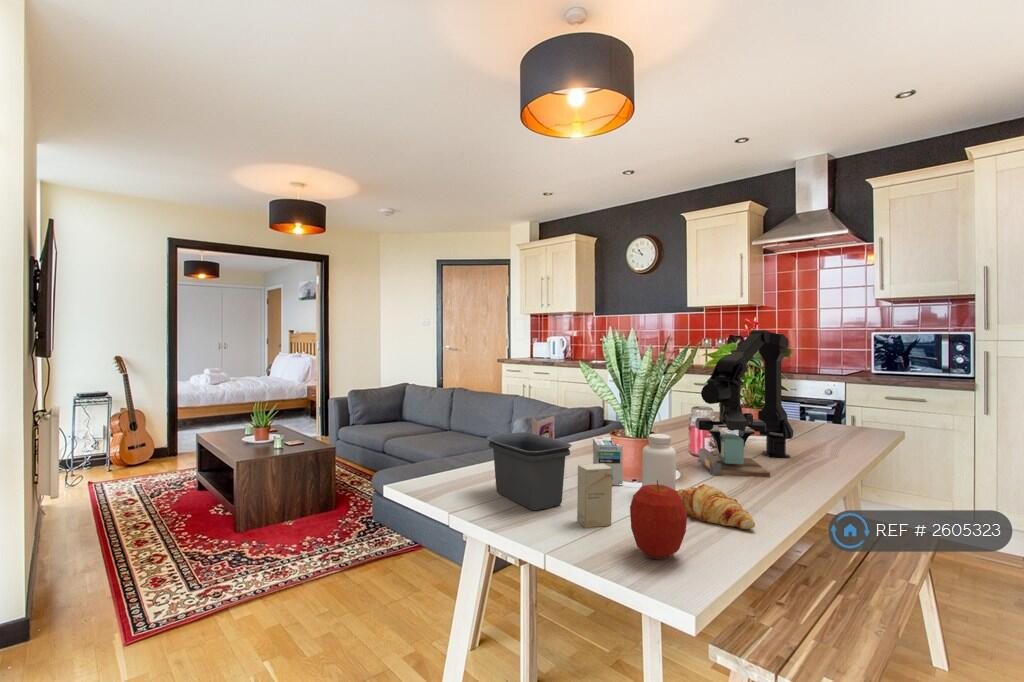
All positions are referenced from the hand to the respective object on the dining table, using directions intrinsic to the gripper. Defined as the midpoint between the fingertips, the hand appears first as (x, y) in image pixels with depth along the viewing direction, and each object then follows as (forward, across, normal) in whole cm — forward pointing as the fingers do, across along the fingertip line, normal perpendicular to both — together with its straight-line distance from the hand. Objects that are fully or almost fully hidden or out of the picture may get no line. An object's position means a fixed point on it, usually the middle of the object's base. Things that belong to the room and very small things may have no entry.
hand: (729, 453), depth 150 cm
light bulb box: (+4, -36, -18) cm, 41 cm away
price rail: (+4, -6, 0) cm, 7 cm away
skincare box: (+4, -40, -50) cm, 64 cm away
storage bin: (+4, -56, -36) cm, 66 cm away
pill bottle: (+4, -24, -30) cm, 39 cm away
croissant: (+5, -16, -42) cm, 45 cm away
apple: (+4, -30, -64) cm, 70 cm away
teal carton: (+2, 0, 0) cm, 2 cm away
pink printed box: (+4, -56, -9) cm, 57 cm away
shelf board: (+4, +2, 0) cm, 5 cm away
